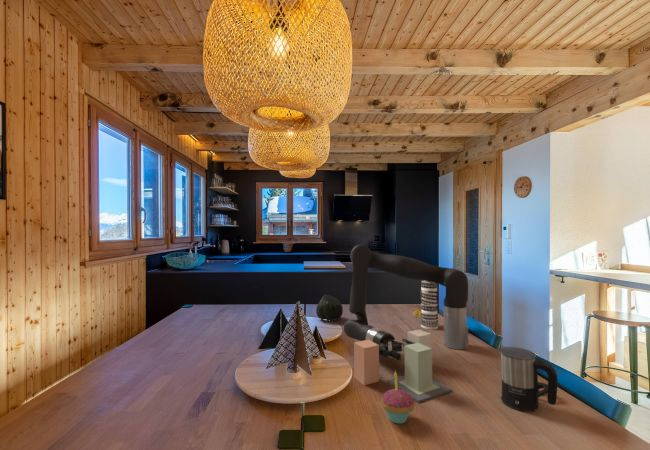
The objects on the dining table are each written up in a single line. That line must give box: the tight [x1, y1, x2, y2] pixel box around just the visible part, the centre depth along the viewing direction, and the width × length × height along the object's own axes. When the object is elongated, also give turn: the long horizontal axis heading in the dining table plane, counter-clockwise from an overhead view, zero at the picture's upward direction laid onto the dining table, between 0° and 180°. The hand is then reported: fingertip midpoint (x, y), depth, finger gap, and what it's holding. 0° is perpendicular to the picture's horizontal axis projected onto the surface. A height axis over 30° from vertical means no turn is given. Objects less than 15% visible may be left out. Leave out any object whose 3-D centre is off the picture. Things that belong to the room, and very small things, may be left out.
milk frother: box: [498, 346, 558, 413], centre depth 93 cm, size 14×16×15 cm
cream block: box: [406, 328, 432, 348], centre depth 116 cm, size 6×6×12 cm
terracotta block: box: [353, 340, 380, 386], centre depth 105 cm, size 6×6×12 cm
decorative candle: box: [419, 280, 439, 330], centre depth 163 cm, size 9×9×25 cm
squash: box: [316, 294, 344, 322], centre depth 177 cm, size 14×15×15 cm
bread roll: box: [412, 309, 422, 319], centre depth 182 cm, size 8×9×4 cm
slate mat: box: [387, 375, 453, 404], centre depth 100 cm, size 14×14×1 cm
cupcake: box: [381, 369, 415, 424], centre depth 83 cm, size 9×8×12 cm
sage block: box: [404, 343, 433, 391], centre depth 100 cm, size 6×6×12 cm
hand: (409, 355), depth 104 cm, fingers open, 8 cm apart
